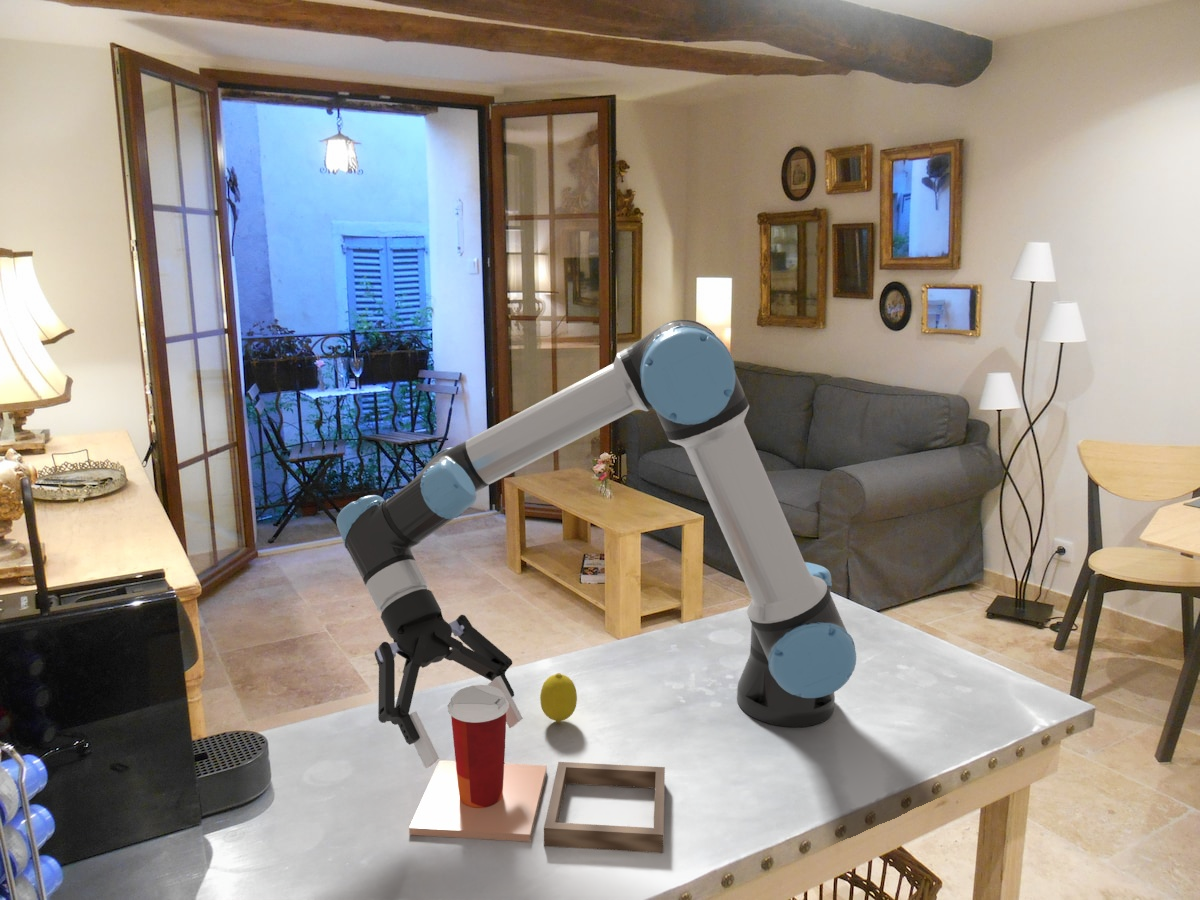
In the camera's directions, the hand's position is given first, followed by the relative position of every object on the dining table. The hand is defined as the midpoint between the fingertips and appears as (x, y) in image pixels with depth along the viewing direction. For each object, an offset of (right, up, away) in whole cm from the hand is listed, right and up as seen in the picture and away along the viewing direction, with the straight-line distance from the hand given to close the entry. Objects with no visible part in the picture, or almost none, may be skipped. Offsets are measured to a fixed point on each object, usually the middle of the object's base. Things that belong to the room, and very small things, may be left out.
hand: (476, 743), depth 119 cm
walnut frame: (+17, -9, 0) cm, 19 cm away
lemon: (+10, -4, +22) cm, 24 cm away
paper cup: (0, -7, +1) cm, 8 cm away
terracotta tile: (+1, -8, +2) cm, 8 cm away
